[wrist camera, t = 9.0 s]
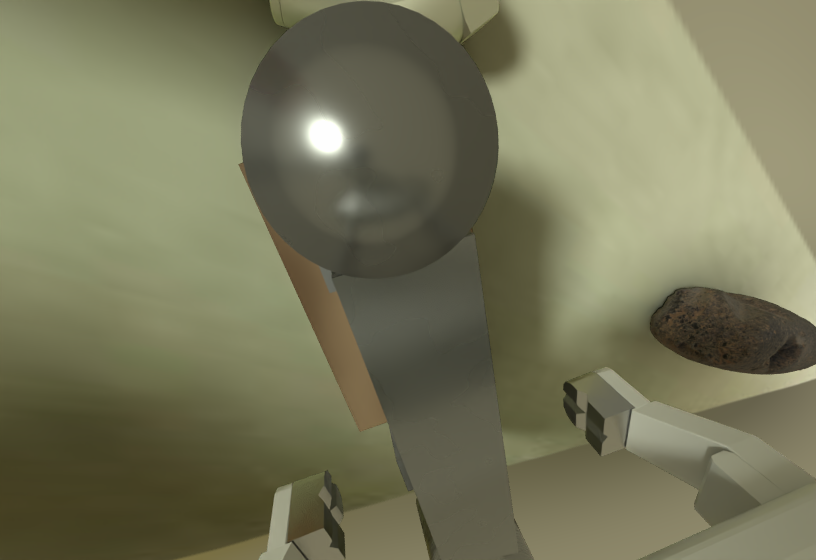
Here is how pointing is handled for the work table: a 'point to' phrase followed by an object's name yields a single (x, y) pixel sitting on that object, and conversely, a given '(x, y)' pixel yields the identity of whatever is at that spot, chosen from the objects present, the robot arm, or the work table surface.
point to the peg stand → (334, 336)
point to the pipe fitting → (442, 3)
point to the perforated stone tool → (734, 332)
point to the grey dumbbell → (396, 238)
